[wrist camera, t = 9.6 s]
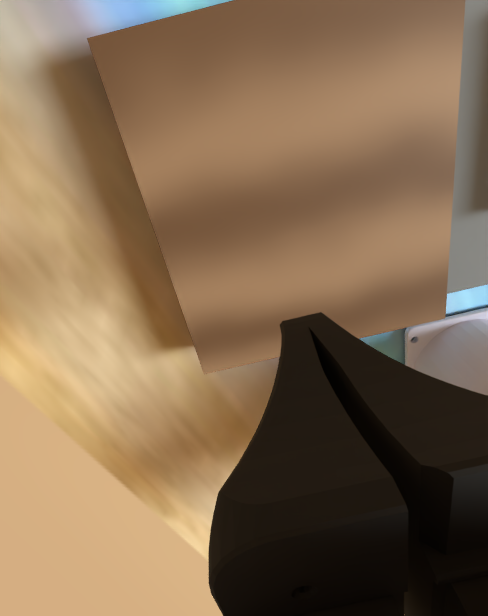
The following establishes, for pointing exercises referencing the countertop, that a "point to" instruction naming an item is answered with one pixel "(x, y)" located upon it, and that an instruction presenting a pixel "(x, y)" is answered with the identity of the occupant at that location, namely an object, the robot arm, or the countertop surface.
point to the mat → (471, 158)
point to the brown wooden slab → (294, 161)
